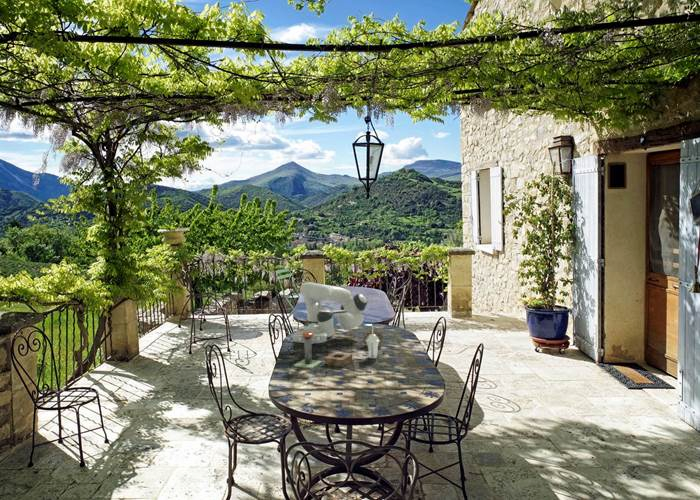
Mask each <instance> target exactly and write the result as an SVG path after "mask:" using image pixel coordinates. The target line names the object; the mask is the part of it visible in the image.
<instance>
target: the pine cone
mask: <svg viewBox="0 0 700 500" xmlns="http://www.w3.org/2000/svg"><path fill="white" fill-rule="evenodd" d="M371 334H372V330H371V331H369V332H366V333H365V334H364V335H363V338H362V339H357V338H355V337H352V336H349V339H350V340H351V341H353V342H354V341H355V342H357V343H363V344H365V345H366V347H368V346H367V342H366V339H367V337H368V336H369V335H371ZM373 334H375V335H377V337H378V339H380V342H379V344H378V345H380V344H381V343H383V341H384V340H385V339H384V337H385V336H384V335H383V333H381V332H380V331H378V330H373Z"/></svg>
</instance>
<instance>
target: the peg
mask: <svg viewBox="0 0 700 500" xmlns="http://www.w3.org/2000/svg"><path fill="white" fill-rule="evenodd" d="M302 336H303V337H304V343H303V344H304V345H303V346H304V359H305V364H311V363H312V360H313V359H312V358H313V357H312V351H313V350H312V348H313V347H312V344H311V337H312V336H313V332H304V333H302Z"/></svg>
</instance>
